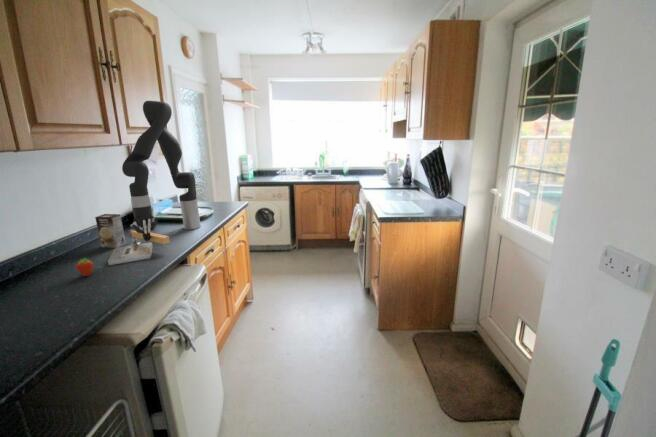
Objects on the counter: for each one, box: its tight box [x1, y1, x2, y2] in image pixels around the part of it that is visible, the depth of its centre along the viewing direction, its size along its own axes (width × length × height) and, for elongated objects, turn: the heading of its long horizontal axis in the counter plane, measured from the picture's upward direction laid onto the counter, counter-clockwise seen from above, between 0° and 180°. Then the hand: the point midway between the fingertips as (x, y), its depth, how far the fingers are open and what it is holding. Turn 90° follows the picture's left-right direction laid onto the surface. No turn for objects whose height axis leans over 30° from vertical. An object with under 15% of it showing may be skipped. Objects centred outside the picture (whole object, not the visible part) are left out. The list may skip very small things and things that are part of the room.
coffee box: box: [94, 213, 127, 248], centre depth 157 cm, size 9×6×16 cm
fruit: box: [76, 257, 94, 277], centre depth 124 cm, size 5×5×8 cm
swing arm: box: [128, 228, 171, 245], centre depth 151 cm, size 28×4×3 cm, turn 63°
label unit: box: [107, 241, 154, 266], centre depth 145 cm, size 18×16×2 cm
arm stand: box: [129, 237, 142, 246], centre depth 158 cm, size 5×5×4 cm
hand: (147, 240), depth 147 cm, fingers closed
